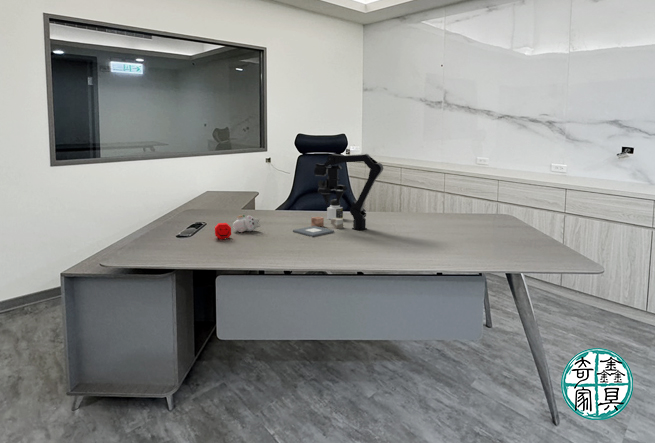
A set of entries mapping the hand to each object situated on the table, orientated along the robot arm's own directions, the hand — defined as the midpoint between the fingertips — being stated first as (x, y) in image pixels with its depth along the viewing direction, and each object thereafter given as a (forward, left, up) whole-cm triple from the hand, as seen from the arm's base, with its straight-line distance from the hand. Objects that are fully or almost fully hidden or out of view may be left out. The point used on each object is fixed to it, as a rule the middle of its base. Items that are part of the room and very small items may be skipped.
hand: (332, 204), depth 281 cm
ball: (+19, +60, -14) cm, 65 cm away
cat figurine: (+24, +42, -14) cm, 50 cm away
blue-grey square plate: (-2, +16, -13) cm, 21 cm away
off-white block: (-2, -2, -14) cm, 14 cm away
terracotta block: (+8, +4, -14) cm, 16 cm away
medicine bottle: (+16, -18, -14) cm, 27 cm away
